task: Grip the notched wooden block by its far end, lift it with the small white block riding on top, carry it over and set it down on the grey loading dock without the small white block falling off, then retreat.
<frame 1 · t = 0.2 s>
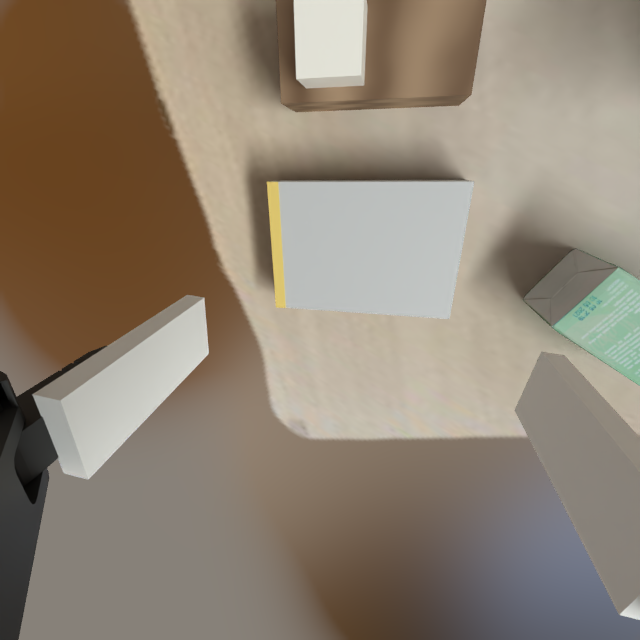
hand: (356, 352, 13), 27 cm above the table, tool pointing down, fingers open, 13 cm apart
notched wooden block: (376, 65, 31), on the table
small white block: (335, 50, 27), point 5 cm above the table
box: (593, 305, 36), on the table
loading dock: (364, 244, 38), on the table
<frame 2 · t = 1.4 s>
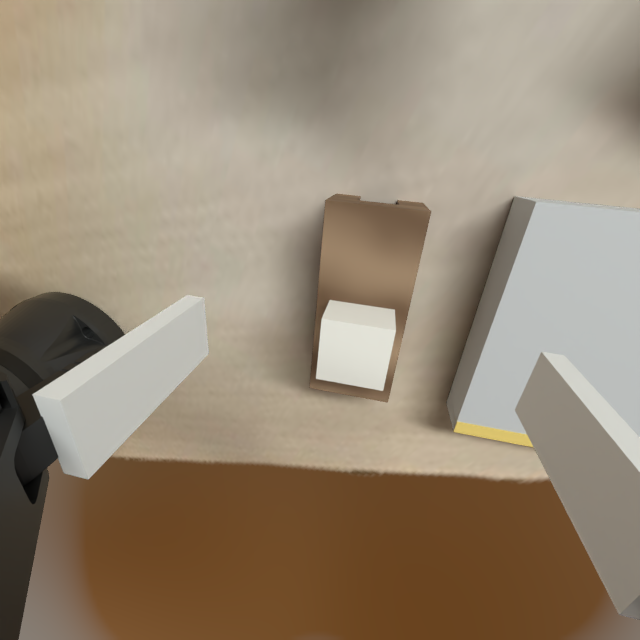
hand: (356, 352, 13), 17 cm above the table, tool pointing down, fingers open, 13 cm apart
notched wooden block: (364, 289, 30), on the table, touching small white block
small white block: (357, 333, 26), point 5 cm above the table, touching notched wooden block
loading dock: (559, 327, 28), on the table
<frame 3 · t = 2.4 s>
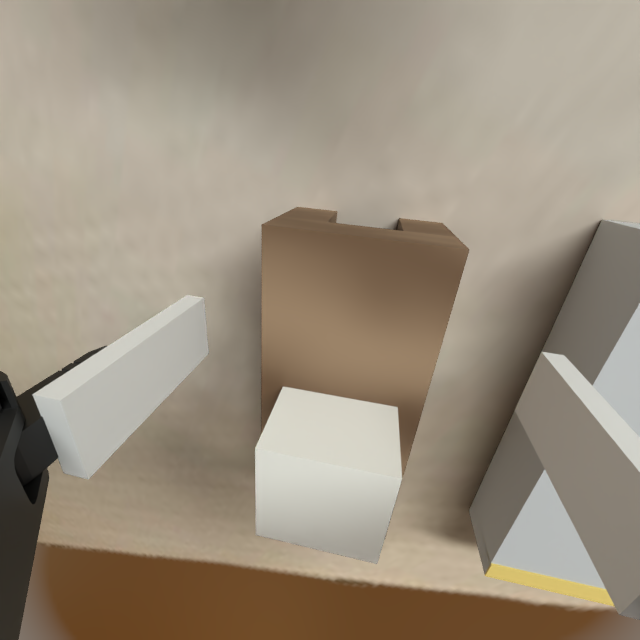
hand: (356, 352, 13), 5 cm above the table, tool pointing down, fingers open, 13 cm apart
notched wooden block: (348, 353, 19), on the table
small white block: (333, 438, 15), point 5 cm above the table
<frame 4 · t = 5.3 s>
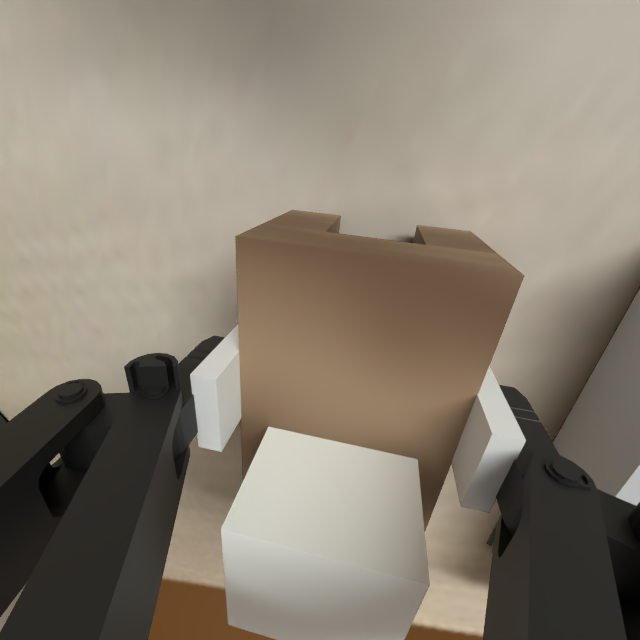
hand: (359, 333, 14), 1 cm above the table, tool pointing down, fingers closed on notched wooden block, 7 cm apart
notched wooden block: (351, 383, 16), point 1 cm above the table, touching small white block, gripper
small white block: (332, 491, 12), point 6 cm above the table, touching notched wooden block
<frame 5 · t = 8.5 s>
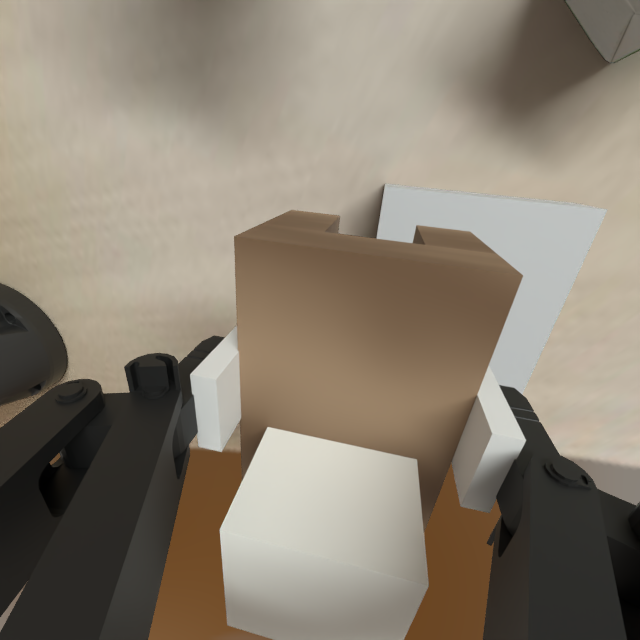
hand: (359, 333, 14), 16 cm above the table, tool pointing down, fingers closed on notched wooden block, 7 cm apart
notched wooden block: (351, 383, 16), point 15 cm above the table, touching small white block, gripper
small white block: (331, 491, 12), point 20 cm above the table, touching notched wooden block
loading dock: (443, 310, 29), on the table
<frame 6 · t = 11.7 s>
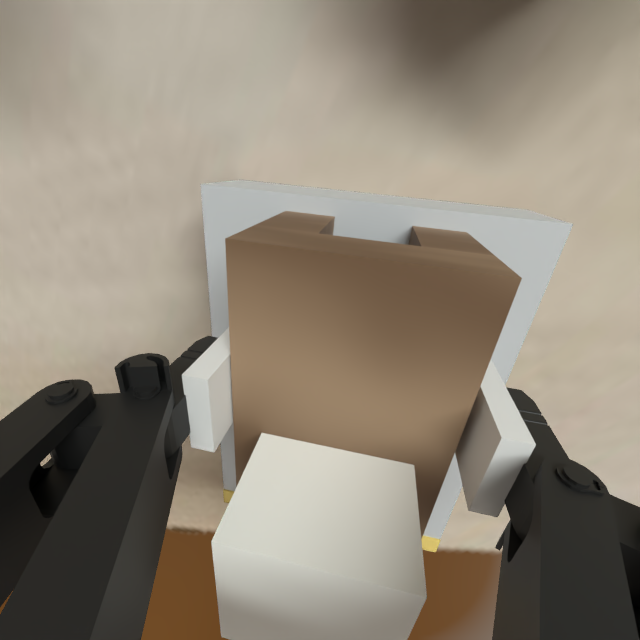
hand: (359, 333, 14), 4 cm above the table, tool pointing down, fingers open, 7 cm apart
notched wooden block: (347, 386, 16), point 4 cm above the table, touching small white block, gripper, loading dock
small white block: (327, 498, 12), point 9 cm above the table, touching notched wooden block
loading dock: (350, 364, 20), on the table
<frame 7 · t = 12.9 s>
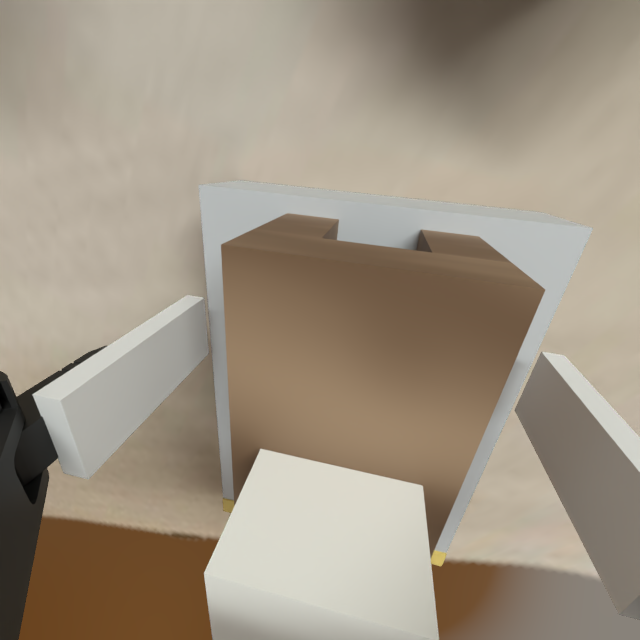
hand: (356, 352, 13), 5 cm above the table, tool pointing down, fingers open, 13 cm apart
notched wooden block: (351, 395, 15), point 4 cm above the table, touching small white block, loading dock
small white block: (330, 517, 11), point 9 cm above the table, touching notched wooden block
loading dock: (354, 370, 20), on the table
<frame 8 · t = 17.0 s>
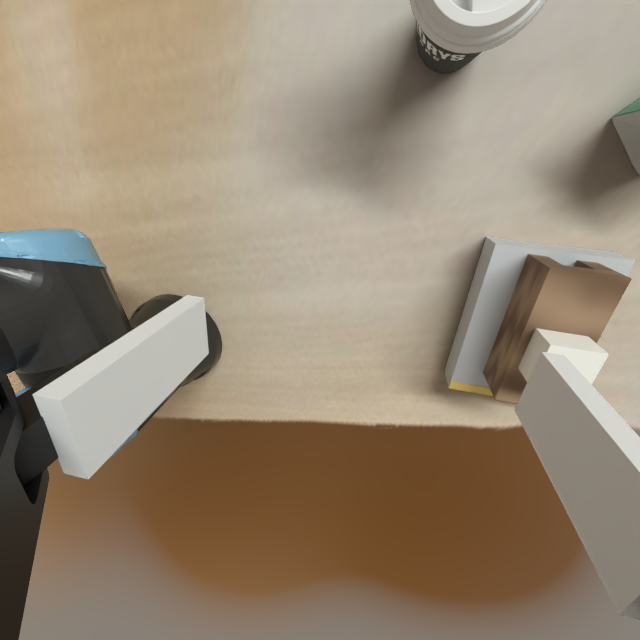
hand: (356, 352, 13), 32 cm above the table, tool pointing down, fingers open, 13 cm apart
notched wooden block: (534, 323, 39), point 4 cm above the table, touching small white block, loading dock
coffee cup: (450, 33, 32), on the table
small white block: (551, 352, 34), point 9 cm above the table, touching notched wooden block
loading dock: (517, 319, 43), on the table
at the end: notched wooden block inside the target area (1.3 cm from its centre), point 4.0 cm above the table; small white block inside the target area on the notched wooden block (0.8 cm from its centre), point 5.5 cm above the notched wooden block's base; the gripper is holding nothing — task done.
